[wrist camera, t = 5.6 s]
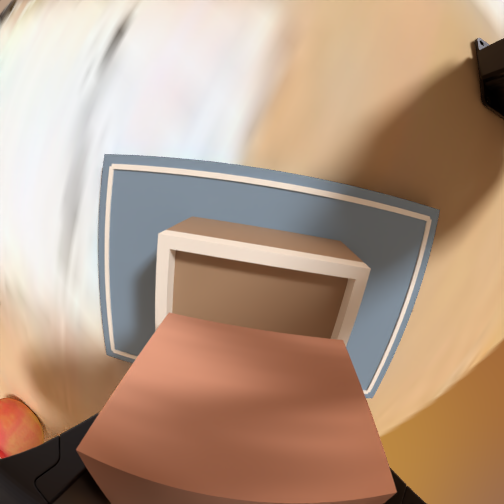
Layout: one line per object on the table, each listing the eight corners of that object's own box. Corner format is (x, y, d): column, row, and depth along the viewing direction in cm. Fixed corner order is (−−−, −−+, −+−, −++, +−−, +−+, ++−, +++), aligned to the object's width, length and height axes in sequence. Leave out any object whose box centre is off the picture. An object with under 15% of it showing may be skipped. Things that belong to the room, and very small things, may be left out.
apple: (39, 434, 26) (11, 472, 16) (0, 387, 24) (-34, 422, 14) (65, 436, 24) (34, 483, 14) (19, 382, 22) (-22, 425, 12)
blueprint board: (431, 208, 14) (491, 224, 9) (369, 389, 18) (390, 444, 12) (112, 155, 15) (51, 150, 9) (112, 348, 18) (74, 393, 13)
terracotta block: (343, 340, 7) (396, 492, 3) (299, 441, 9) (305, 552, 4) (168, 312, 7) (75, 449, 3) (170, 421, 9) (131, 527, 4)
